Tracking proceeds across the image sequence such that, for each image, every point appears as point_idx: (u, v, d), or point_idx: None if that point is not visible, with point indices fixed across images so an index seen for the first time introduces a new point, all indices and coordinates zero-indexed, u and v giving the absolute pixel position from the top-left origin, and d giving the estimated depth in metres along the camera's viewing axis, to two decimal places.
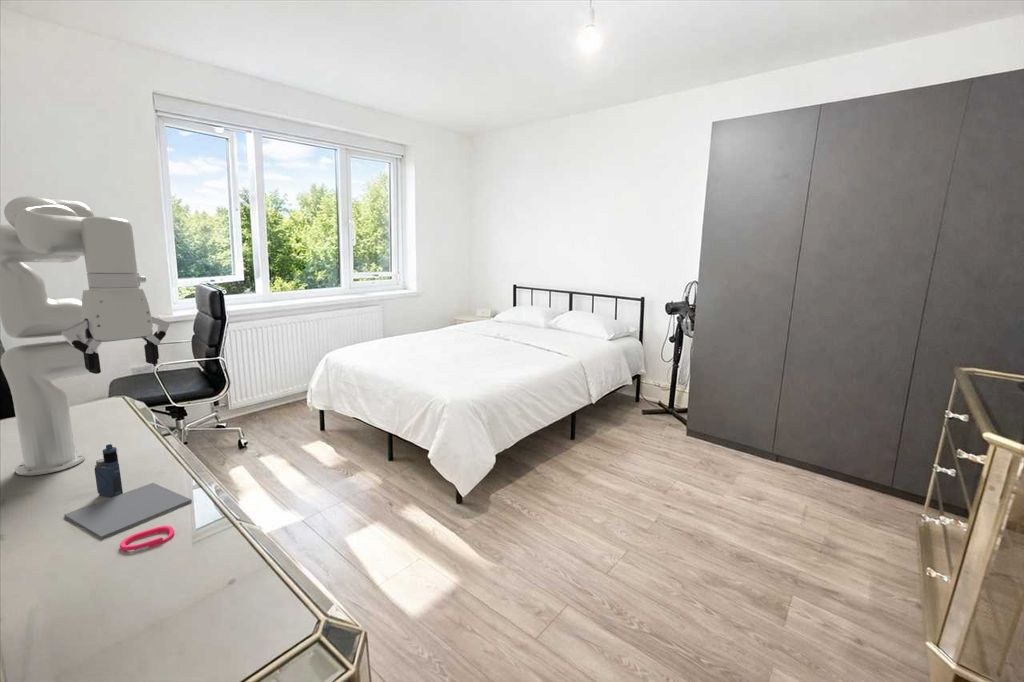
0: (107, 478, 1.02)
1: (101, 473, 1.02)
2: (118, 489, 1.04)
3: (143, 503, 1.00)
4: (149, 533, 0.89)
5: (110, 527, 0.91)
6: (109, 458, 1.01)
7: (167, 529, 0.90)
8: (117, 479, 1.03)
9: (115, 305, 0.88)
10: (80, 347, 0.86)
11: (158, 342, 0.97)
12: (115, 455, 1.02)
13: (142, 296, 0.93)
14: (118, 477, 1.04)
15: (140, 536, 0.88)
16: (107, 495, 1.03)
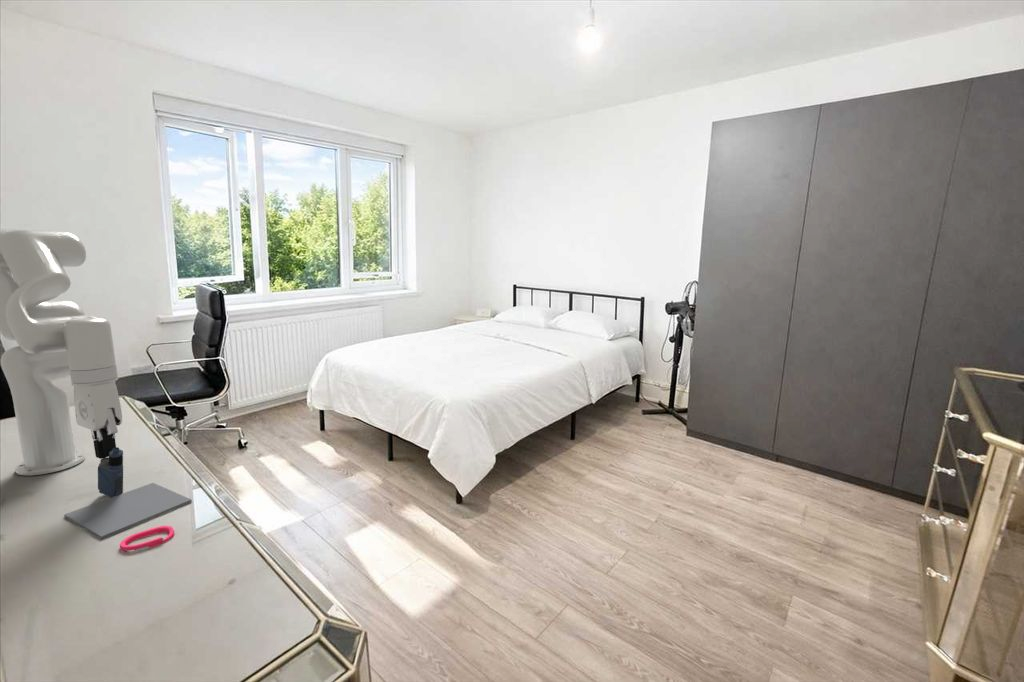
0: (109, 479, 1.02)
1: (104, 473, 1.01)
2: (119, 489, 1.04)
3: (143, 503, 1.00)
4: (149, 533, 0.89)
5: (110, 527, 0.91)
6: (115, 462, 1.00)
7: (167, 529, 0.90)
8: (119, 480, 1.03)
9: None
10: None
11: None
12: (121, 458, 1.01)
13: None
14: (120, 478, 1.03)
15: (140, 536, 0.88)
16: (107, 494, 1.03)
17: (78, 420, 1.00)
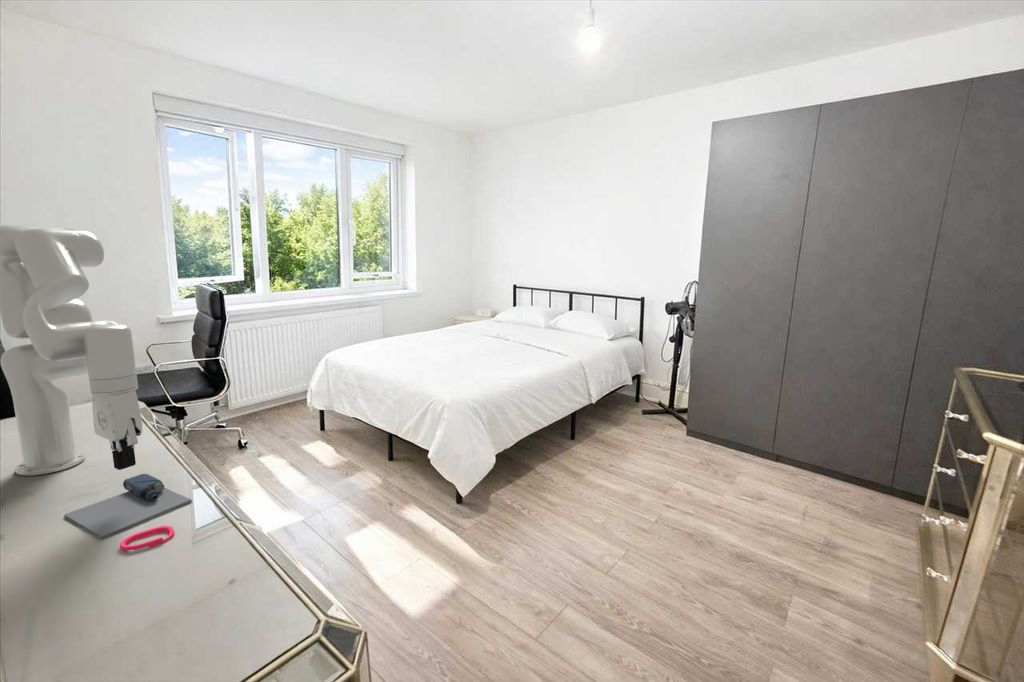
0: (138, 483, 1.03)
1: (148, 482, 1.04)
2: (127, 486, 1.04)
3: (143, 503, 1.00)
4: (149, 533, 0.89)
5: (110, 527, 0.91)
6: (144, 492, 1.00)
7: (167, 529, 0.90)
8: (132, 490, 1.03)
9: None
10: None
11: None
12: (143, 497, 1.00)
13: None
14: (133, 491, 1.03)
15: (140, 536, 0.88)
16: (132, 477, 1.06)
17: (97, 430, 0.96)
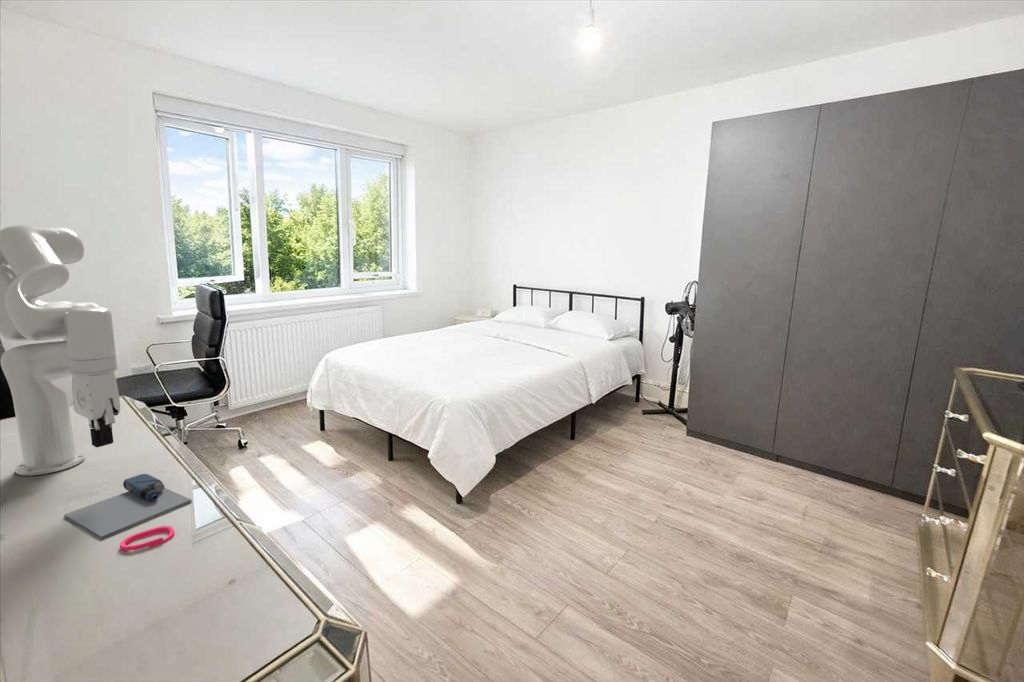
0: (138, 483, 1.03)
1: (148, 482, 1.04)
2: (127, 486, 1.04)
3: (143, 503, 1.00)
4: (149, 533, 0.89)
5: (110, 527, 0.91)
6: (144, 492, 1.00)
7: (167, 529, 0.90)
8: (132, 490, 1.03)
9: None
10: None
11: None
12: (143, 497, 1.00)
13: None
14: (133, 491, 1.03)
15: (140, 536, 0.88)
16: (132, 477, 1.06)
17: (75, 408, 1.00)
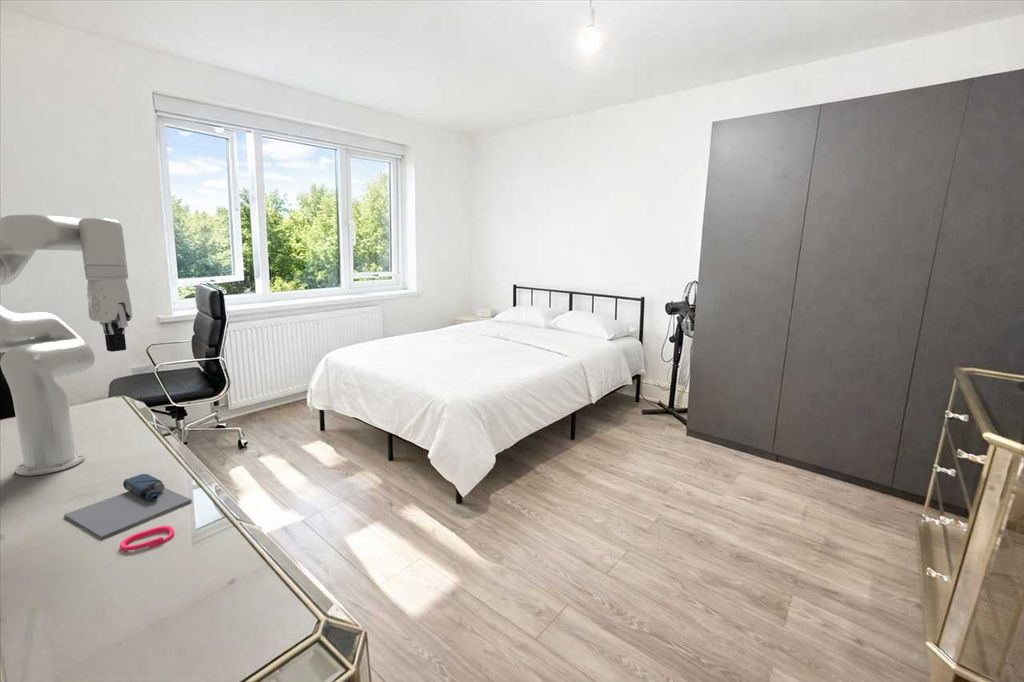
0: (138, 483, 1.03)
1: (148, 482, 1.04)
2: (127, 486, 1.04)
3: (143, 503, 1.00)
4: (149, 533, 0.89)
5: (110, 527, 0.91)
6: (144, 492, 1.00)
7: (167, 529, 0.90)
8: (132, 490, 1.03)
9: None
10: None
11: None
12: (143, 497, 1.00)
13: None
14: (133, 491, 1.03)
15: (140, 536, 0.88)
16: (132, 477, 1.06)
17: (91, 315, 1.08)
